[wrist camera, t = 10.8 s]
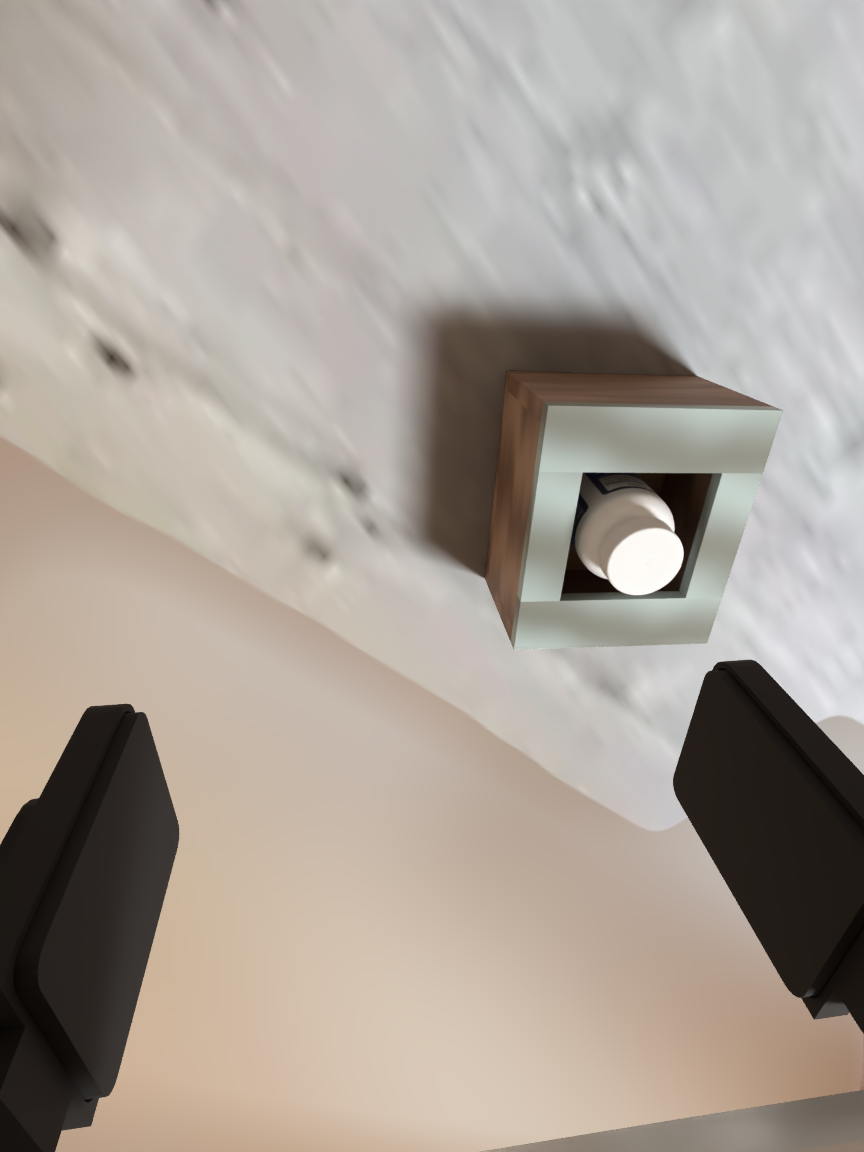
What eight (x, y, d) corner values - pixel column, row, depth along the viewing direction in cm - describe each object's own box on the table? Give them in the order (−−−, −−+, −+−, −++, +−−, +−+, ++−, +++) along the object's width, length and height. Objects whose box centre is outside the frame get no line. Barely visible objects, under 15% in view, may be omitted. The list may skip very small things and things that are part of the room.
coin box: (506, 371, 36) (548, 405, 28) (697, 376, 37) (783, 410, 30) (484, 578, 42) (514, 649, 35) (647, 576, 44) (706, 643, 37)
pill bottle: (579, 540, 41) (632, 624, 33) (528, 489, 39) (572, 565, 30) (644, 486, 39) (718, 560, 31) (596, 429, 37) (661, 493, 29)
